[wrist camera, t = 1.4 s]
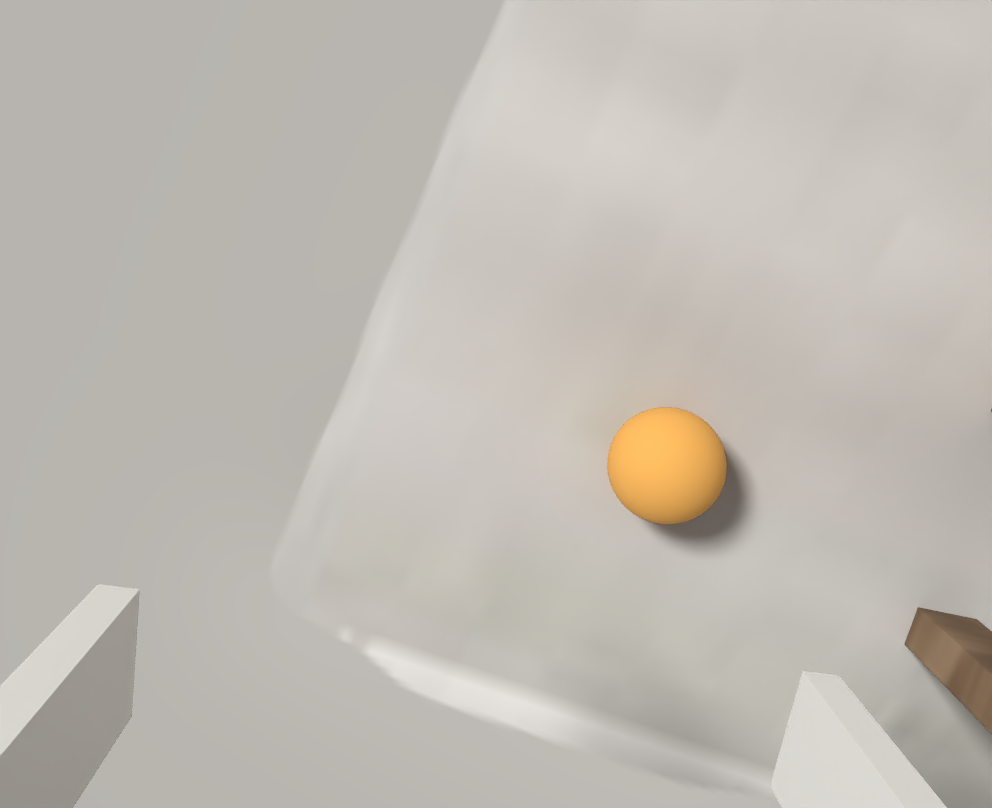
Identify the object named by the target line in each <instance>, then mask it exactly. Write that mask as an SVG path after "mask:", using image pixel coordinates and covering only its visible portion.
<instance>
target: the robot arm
mask: <svg viewBox="0 0 992 808" xmlns="http://www.w3.org/2000/svg"><path fill="white" fill-rule="evenodd" d="M139 592H140V590H139V589H131V588H124V587H115V586H106V585H99V584H98V585H97V586H96V587H95V588H94V589H93V590H92V591H91V592H90V593H89V594H88V595H87V596H86V597H85V598H84V599H83V600H82V601H81V603H80V604H79V605H78V606H77V607H76V608H75V609H74V610H73V611H72V612H71V613H70V614H69V615H68V616H67V617H66V618H65V619H64V620H63V621H62V622H61V623H60V624H59V625H58V627H57V628H56V629H54V631H53V632H52V633H51V634H50V635H49V636H48V637H47V638H46V639H45V640H44V641H43V642H42V643H41V644H40V645H39V646H38V647H37V648H36V649H35V651H33V652H32V654H31V655H29V657H28V658H27V659H26V660H25V661H24V662H23V663H22V664H21V665H20V666H19V667H18V668H17V669H16V670H15V671H14V672H13V673H12V674H11V675H10V676H9V677H8V678H7V679H6V681H4V683H3V684H2V685H1V686H0V808H73V807H74V805H75V804H76V802H77V801H78V799H79V797H80V796H81V794H82V793H83V791H84V790H85V788H86V787H87V785H88V783H89V782H90V780H91V779H92V777H93V776H94V774H95V772H96V771H97V769H98V768H99V766H100V765H101V763H102V762H103V760H104V759H105V757H106V756H107V754H108V752H109V751H110V749H111V748H112V746H113V745H114V743H115V742H116V740H117V738H118V737H119V735H120V734H121V732H122V731H123V729H124V727H125V726H126V724H127V723H128V721H129V720H130V718H131V717H132V704H133V687H134V671H135V656H136V640H137V625H138V609H139ZM770 787H771V789H772V791H773V793H774V795H775V797H776V799H777V800H778V802H779V804H780V806H781V808H947V807H946V806H945V805H944V804H943V802H942V801H941V800H940V799H939V797H938V796H937V795H936V794H935V793H934V791H933V790H932V789H931V788H930V786H929V785H928V784H927V783H926V782H925V780H924V779H923V778H922V777H921V775H920V774H919V773H918V772H917V771H916V769H915V768H914V767H913V766H912V764H911V763H910V762H909V761H908V760H907V758H906V757H905V756H904V755H903V753H902V752H901V751H900V750H899V749H898V747H897V746H896V745H895V744H894V742H893V741H892V740H891V739H890V738H889V736H888V735H887V734H886V733H885V731H884V730H883V729H882V728H881V727H880V725H879V724H878V723H877V722H876V720H875V719H874V718H873V717H872V716H871V714H870V713H869V712H868V711H867V709H866V708H865V707H864V706H863V705H862V703H861V702H860V701H859V700H858V698H857V697H856V696H855V695H854V694H853V692H852V691H851V690H850V689H849V687H848V686H847V685H846V684H845V683H844V681H843V680H842V679H841V678H840V676H839V675H831V674H823V673H814V672H806V671H803V672H802V676H801V679H800V683H799V686H798V690H797V693H796V697H795V700H794V704H793V707H792V711H791V714H790V718H789V721H788V725H787V728H786V732H785V735H784V739H783V742H782V746H781V749H780V753H779V756H778V760H777V763H776V767H775V770H774V774H773V777H772V781H771V784H770Z"/></svg>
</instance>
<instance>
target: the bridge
mask: <svg viewBox="0 0 992 808" xmlns="http://www.w3.org/2000/svg"><path fill="white" fill-rule="evenodd" d="M991 411H992V410H991ZM905 645H906V646H907V647H908V648H909V649H910V650H911V651H912V652H913V653H914V654H915V655H916V656H917V657H918V658H919V659H920V660H921V661H922V663H923V664H924V665H925V666H926V667H927V668H928V669H929V670H930V671H931V672H932V673H933V674H934V675H935V676H936V677H937V678H938V679H939V680H940V681H941V682H942V683H943V684H944V685H945V686H946V687H947V688H948V689H949V690H950V691H951V692H952V693H953V694H954V696H955V697H956V698H957V699H958V700H959V701H960V702H961V703H962V704H963V705H964V706H965V707H966V708H967V709H968V710H969V711H970V712H971V713H972V714H973V715H974V716H975V717H976V718H977V719H978V720H979V721H980V722H981V723H982V724H983V725H984V726H985V727H986V729H987V730H988V731H989V732H990V733H991V734H992V631H990V630H989V629H988V628H987V627H985V626H984V625H983V624H982V623H981V622H979V621H978V620H977V619H972V618H967V617H962V616H957V615H952V614H947V613H943V612H938V611H933V610H928V609H923V608H918V609H917V612H916V615H915V618H914V620H913V623H912V626H911V628H910V631H909V634H908V636H907V639H906V642H905Z"/></svg>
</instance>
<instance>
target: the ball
mask: <svg viewBox="0 0 992 808" xmlns="http://www.w3.org/2000/svg"><path fill="white" fill-rule="evenodd" d="M607 468H608V475H609V480H610V483H611V486H612V489H613V491H614V492H615V494H616V496H617V497H618V499H619V500H620V501H621V503H622V504H623V505H624V506H625V507H626V508H627V509H628V510H630V511H631V512H632V513H634V514H635V515H637V516H638V517H640V518H642V519H645V520H647V521H650V522H654V523H659V524H678V523H682V522H686V521H689V520H692V519H694V518H696V517H698V516H699V515H701V514H702V513H704V512H705V511H706V510H707V509H709V508H710V507H711V505H712V504H713V503H714V502H715V501H716V499H717V498H718V496H719V495H720V493H721V491H722V488H723V486H724V483H725V478H726V472H727V460H726V455H725V451H724V448H723V445H722V443H721V441H720V439H719V437H718V435H717V434H716V433H715V431H714V430H713V429H712V427H711V426H710V425H709V424H708V423H707V422H705V421H704V420H703V419H701V418H700V417H698V416H697V415H695V414H693V413H691V412H688V411H686V410H682V409H678V408H671V407H661V408H654V409H650V410H647V411H644V412H641V413H639V414H638V415H636V416H634V417H633V418H631V419H630V420H628V421H627V422H626V423H625V424H624V425H623V426H622V427H621V428H620V430H619V431H618V432H617V434H616V435H615V437H614V439H613V441H612V443H611V446H610V449H609V454H608V462H607Z"/></svg>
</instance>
